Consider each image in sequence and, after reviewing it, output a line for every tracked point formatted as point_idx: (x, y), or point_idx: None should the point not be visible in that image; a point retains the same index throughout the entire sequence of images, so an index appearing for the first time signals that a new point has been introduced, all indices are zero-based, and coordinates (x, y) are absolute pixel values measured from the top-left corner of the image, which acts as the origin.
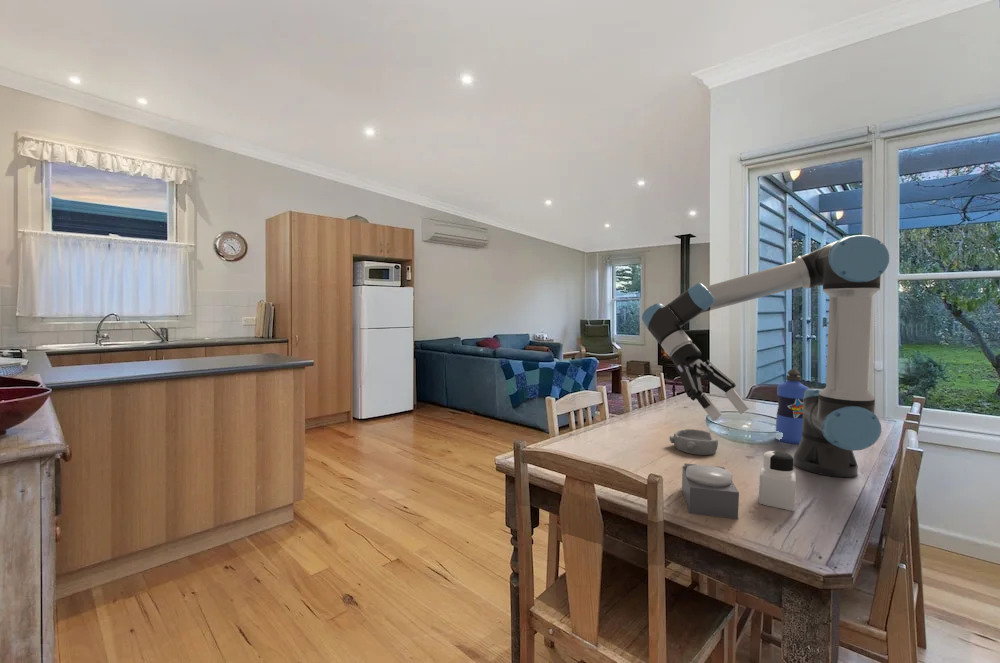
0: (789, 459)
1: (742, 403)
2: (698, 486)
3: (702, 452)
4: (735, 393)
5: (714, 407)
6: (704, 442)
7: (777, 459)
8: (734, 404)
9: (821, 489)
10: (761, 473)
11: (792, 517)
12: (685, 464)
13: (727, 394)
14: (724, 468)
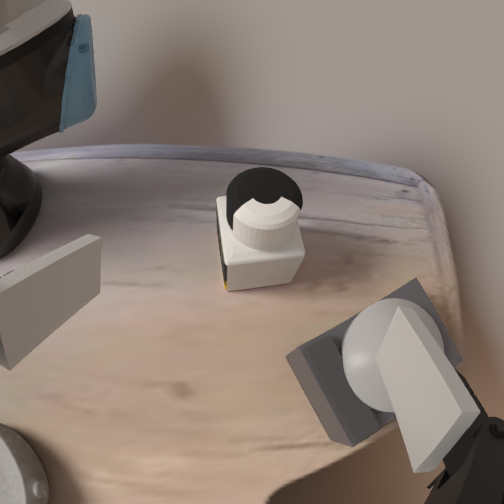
0: (281, 172)
1: (79, 257)
2: (448, 350)
3: (35, 456)
4: (27, 280)
5: (431, 338)
6: (16, 455)
7: (301, 194)
8: (65, 312)
9: (117, 202)
10: (292, 253)
11: (308, 226)
12: (363, 436)
13: (16, 347)
14: (315, 343)
